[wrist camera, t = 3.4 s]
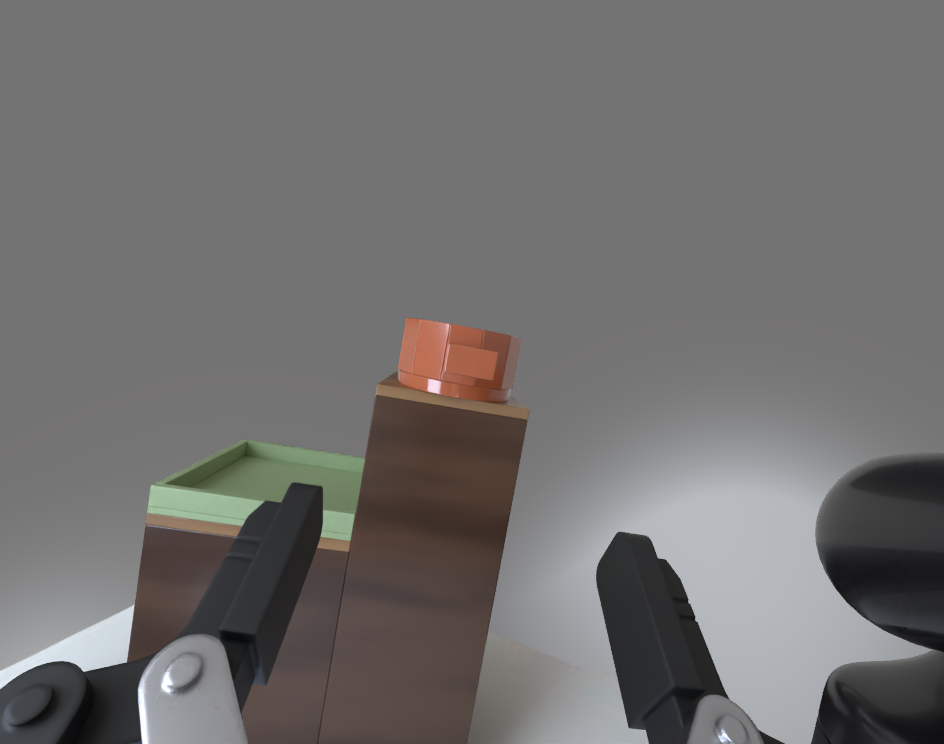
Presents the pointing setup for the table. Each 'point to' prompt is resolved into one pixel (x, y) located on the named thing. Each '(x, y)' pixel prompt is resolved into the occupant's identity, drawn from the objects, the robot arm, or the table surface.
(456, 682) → the stand
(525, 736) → the table surface
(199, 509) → the tray
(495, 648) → the table surface
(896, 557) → the robot arm
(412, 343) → the saucepan
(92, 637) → the table surface
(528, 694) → the table surface
